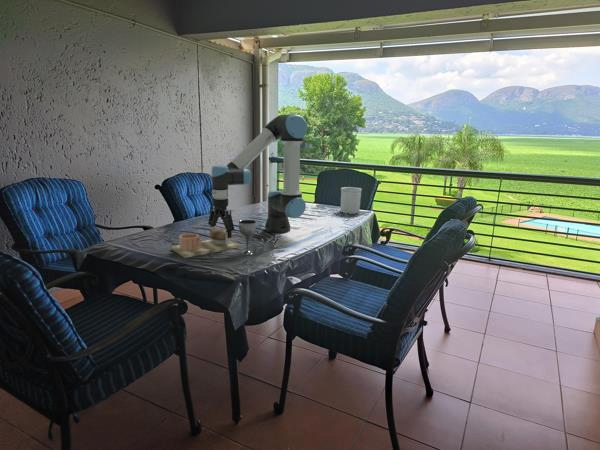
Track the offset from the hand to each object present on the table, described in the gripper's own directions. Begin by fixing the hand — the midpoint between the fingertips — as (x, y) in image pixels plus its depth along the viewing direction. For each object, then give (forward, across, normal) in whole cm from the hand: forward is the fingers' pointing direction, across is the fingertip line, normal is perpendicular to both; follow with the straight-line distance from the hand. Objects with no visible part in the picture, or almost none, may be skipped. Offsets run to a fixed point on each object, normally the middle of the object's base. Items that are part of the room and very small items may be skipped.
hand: (221, 241), depth 189 cm
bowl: (0, -2, -16) cm, 16 cm away
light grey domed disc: (+1, 0, 0) cm, 1 cm away
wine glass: (+2, +17, +3) cm, 17 cm away
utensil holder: (+3, -6, +119) cm, 119 cm away
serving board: (+2, -1, -8) cm, 9 cm away
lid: (-3, 0, 0) cm, 3 cm away
